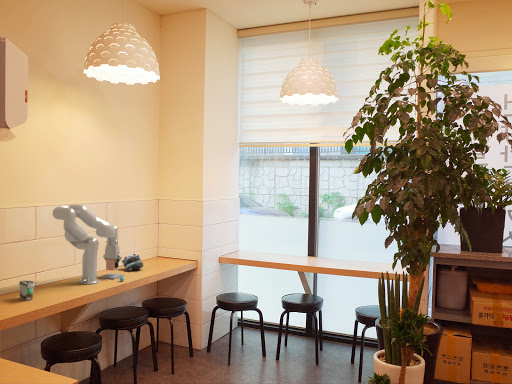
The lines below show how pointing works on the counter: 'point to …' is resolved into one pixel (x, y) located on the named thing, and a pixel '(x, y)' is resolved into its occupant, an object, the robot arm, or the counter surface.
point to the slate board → (112, 276)
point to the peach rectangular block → (111, 264)
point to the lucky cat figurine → (132, 262)
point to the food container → (26, 290)
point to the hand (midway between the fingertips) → (112, 267)
